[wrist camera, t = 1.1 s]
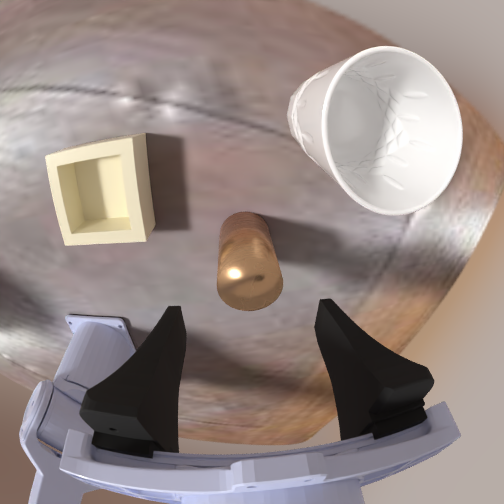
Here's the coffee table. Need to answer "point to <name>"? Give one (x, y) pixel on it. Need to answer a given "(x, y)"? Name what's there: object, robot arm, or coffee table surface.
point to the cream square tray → (103, 191)
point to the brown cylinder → (247, 263)
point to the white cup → (381, 128)
